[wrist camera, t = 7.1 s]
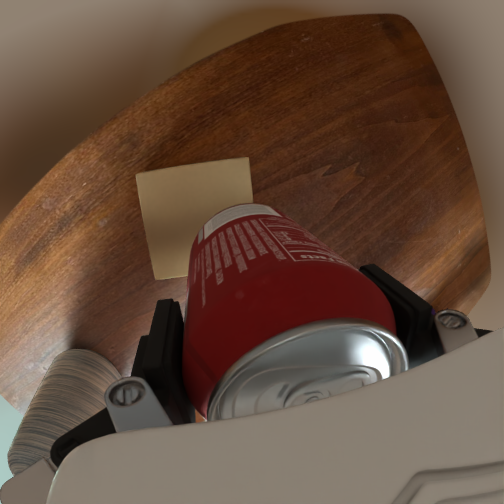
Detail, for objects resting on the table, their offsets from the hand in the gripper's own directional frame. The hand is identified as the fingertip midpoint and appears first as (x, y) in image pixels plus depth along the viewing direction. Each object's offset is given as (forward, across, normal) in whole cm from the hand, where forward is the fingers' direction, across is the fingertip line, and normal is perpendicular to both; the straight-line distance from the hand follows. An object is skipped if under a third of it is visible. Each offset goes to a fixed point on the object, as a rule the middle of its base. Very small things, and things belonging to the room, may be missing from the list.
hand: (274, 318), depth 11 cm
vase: (+23, +23, +20) cm, 38 cm away
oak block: (+23, +3, 0) cm, 24 cm away
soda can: (+7, 0, 0) cm, 7 cm away
